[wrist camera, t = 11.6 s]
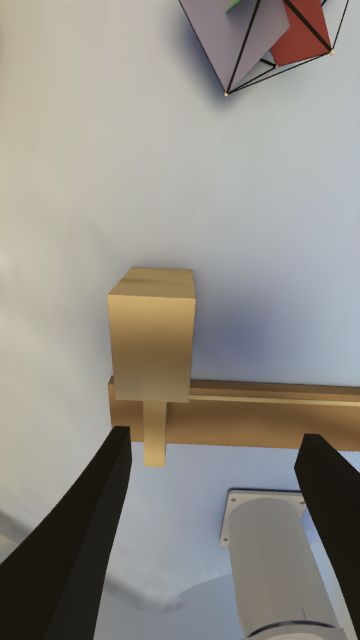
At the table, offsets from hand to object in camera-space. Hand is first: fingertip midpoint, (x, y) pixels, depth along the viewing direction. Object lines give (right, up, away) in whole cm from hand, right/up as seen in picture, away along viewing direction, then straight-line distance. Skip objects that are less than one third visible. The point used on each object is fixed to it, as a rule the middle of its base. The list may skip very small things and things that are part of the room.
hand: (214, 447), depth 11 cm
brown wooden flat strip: (+7, -3, +11) cm, 13 cm away
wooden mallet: (-3, +3, +9) cm, 10 cm away
